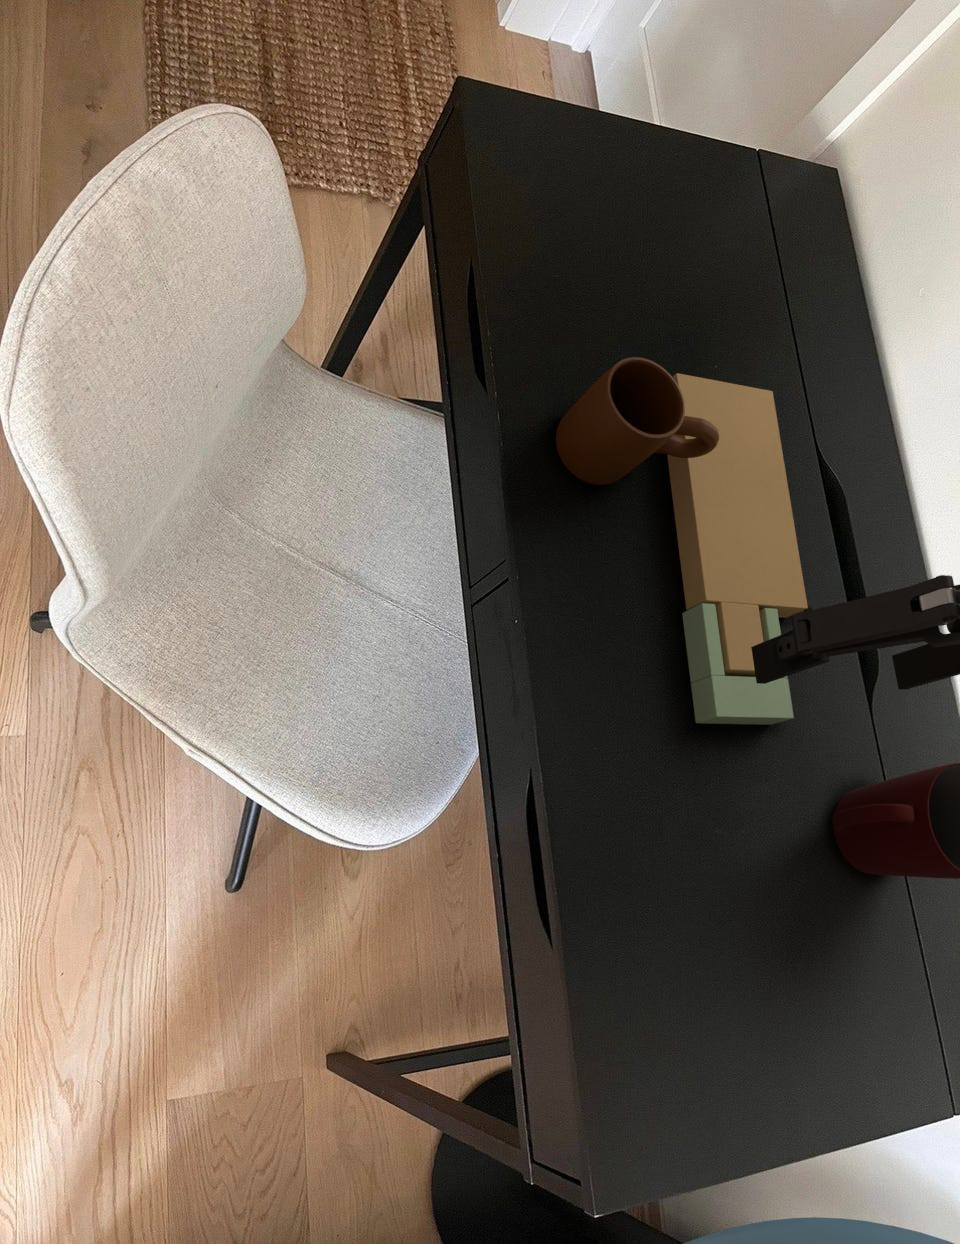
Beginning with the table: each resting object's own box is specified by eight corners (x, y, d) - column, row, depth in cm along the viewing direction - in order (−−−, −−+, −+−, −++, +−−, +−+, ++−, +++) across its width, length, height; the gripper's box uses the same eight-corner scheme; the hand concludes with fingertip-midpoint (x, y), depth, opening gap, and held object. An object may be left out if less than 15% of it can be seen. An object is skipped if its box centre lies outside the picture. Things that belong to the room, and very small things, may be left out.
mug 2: (799, 875, 78) (901, 870, 68) (793, 771, 81) (891, 751, 71) (908, 886, 82) (1019, 882, 72) (899, 786, 85) (1005, 770, 75)
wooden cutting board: (694, 677, 80) (715, 668, 77) (658, 389, 88) (676, 372, 85) (795, 681, 84) (818, 673, 81) (752, 406, 92) (772, 390, 89)
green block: (771, 724, 81) (794, 718, 79) (695, 723, 78) (716, 716, 76) (755, 618, 84) (777, 608, 81) (681, 613, 81) (701, 602, 78)
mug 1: (672, 445, 86) (735, 395, 78) (663, 516, 83) (728, 472, 75) (559, 398, 83) (612, 340, 74) (546, 470, 80) (599, 419, 72)
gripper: (1227, 534, 57) (942, 630, 75) (928, 486, 47) (686, 610, 66) (1264, 652, 54) (961, 721, 73) (959, 628, 45) (699, 714, 63)
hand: (830, 669), depth 69 cm, fingers open, 13 cm apart
